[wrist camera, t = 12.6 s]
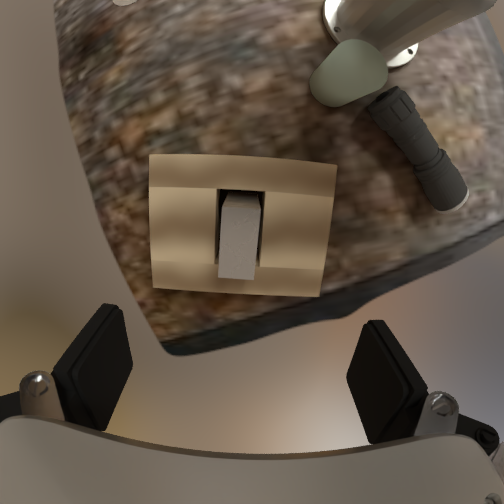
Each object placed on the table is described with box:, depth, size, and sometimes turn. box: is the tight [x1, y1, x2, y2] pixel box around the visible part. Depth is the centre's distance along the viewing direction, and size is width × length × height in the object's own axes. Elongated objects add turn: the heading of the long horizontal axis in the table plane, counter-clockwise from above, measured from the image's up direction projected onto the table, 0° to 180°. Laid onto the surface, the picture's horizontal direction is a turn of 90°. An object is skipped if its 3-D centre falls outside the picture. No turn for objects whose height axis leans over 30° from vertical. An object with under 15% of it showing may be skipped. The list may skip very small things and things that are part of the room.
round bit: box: [309, 39, 388, 107], centre depth 22 cm, size 5×5×9 cm
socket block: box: [149, 154, 337, 297], centre depth 29 cm, size 14×18×4 cm
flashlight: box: [367, 86, 469, 214], centre depth 26 cm, size 15×5×5 cm, turn 46°
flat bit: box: [218, 191, 261, 280], centre depth 27 cm, size 6×3×9 cm, turn 175°
